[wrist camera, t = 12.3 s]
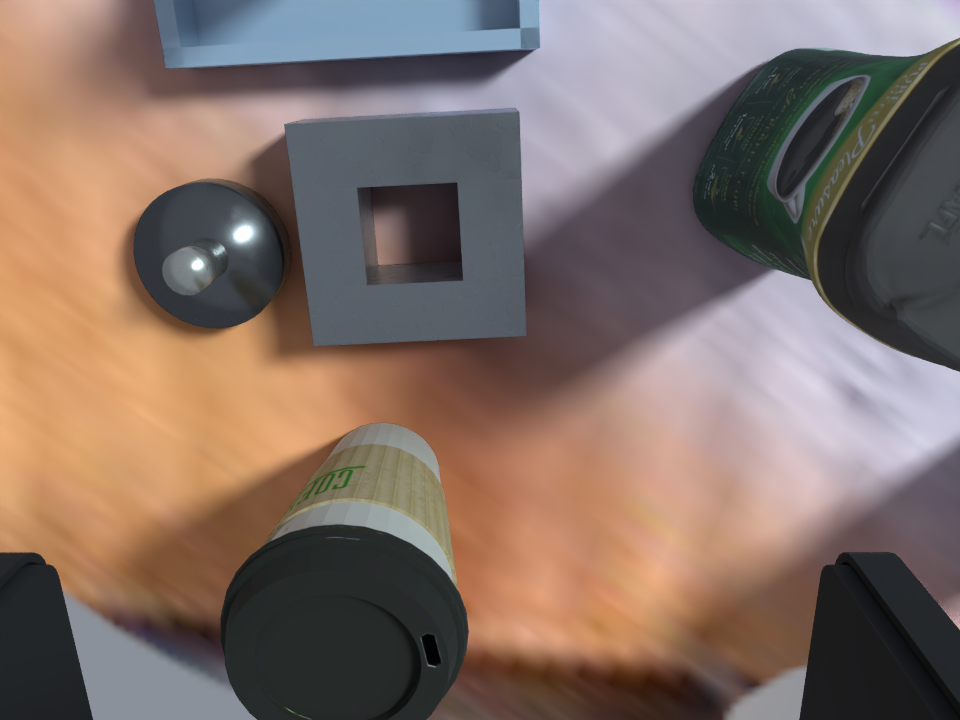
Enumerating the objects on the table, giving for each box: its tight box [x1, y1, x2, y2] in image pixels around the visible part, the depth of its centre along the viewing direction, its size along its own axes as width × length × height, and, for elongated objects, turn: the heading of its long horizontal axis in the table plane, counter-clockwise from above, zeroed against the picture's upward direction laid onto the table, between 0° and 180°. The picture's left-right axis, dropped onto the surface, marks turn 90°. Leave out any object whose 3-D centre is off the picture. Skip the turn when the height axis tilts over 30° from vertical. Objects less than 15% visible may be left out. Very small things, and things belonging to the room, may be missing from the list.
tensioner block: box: [284, 108, 527, 346], centre depth 37 cm, size 10×10×4 cm
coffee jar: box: [693, 38, 960, 372], centre depth 29 cm, size 10×8×19 cm
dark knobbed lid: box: [134, 179, 291, 328], centre depth 37 cm, size 7×7×5 cm
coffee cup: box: [221, 423, 469, 720], centre depth 36 cm, size 10×10×15 cm
